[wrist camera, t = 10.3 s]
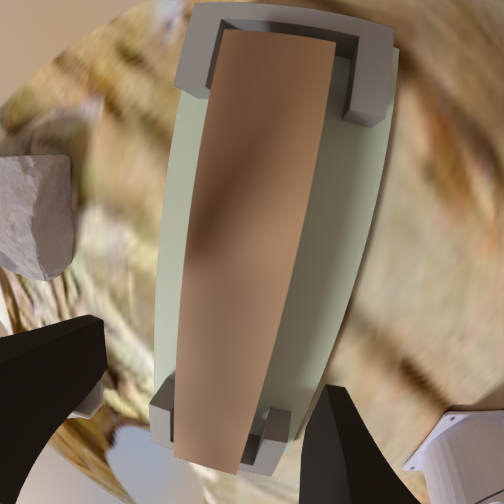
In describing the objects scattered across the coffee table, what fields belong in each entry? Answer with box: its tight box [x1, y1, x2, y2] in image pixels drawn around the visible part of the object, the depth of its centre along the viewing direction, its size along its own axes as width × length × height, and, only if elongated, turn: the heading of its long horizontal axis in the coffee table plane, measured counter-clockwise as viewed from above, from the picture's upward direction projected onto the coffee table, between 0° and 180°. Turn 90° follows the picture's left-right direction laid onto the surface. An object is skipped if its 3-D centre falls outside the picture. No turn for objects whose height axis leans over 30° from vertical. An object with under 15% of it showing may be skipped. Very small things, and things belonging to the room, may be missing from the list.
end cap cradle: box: [149, 2, 399, 476], centre depth 15 cm, size 11×28×4 cm, turn 169°
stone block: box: [0, 155, 75, 281], centre depth 19 cm, size 12×5×10 cm
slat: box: [174, 29, 336, 475], centre depth 14 cm, size 4×22×5 cm, turn 169°
